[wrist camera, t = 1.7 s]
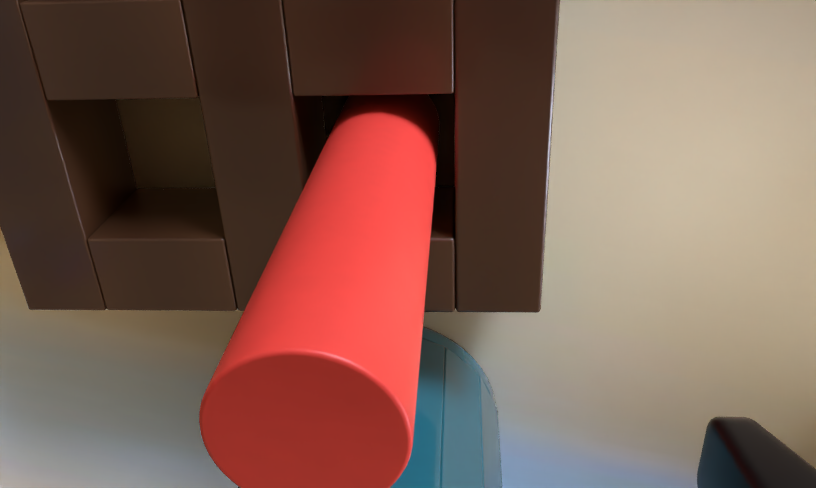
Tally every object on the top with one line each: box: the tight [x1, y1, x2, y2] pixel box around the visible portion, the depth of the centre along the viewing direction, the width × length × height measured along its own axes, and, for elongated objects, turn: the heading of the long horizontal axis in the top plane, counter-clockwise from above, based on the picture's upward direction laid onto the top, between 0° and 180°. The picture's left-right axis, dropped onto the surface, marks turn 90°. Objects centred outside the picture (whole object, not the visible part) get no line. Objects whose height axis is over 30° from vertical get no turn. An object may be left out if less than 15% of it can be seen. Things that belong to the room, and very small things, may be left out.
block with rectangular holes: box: [0, 0, 560, 312], centre depth 15 cm, size 13×13×3 cm
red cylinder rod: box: [199, 94, 440, 488], centre depth 13 cm, size 2×2×11 cm
